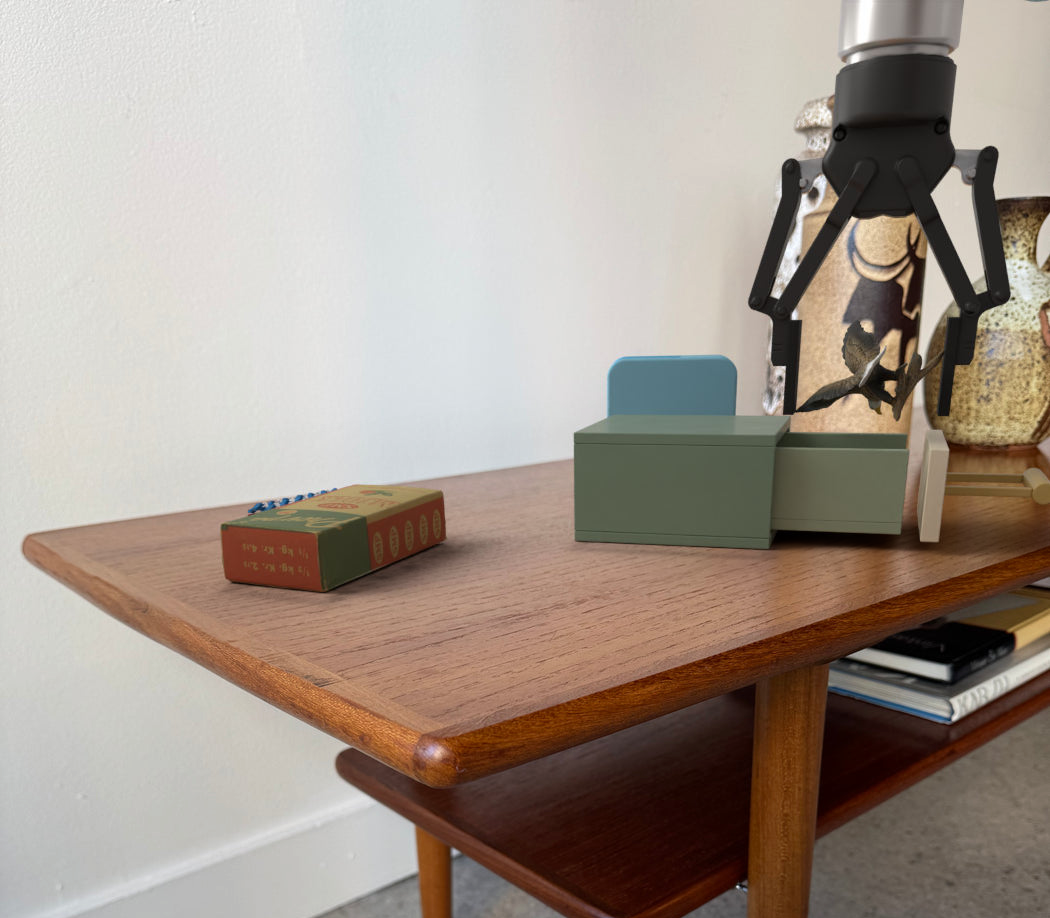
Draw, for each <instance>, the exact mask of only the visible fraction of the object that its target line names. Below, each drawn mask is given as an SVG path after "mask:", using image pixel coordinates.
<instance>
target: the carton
mask: <svg viewBox="0 0 1050 918" xmlns="http://www.w3.org/2000/svg"><path fill="white" fill-rule="evenodd" d="M445 507H446V506H445V495H444V492H443V491H442V490H441V489H434V488H425V487H424V488H423V487H415V486H414V487H413V486H402V485H384V484H383V485H381V484H363V483H362V484H360V483H359V484H358V483H357V484H352V485H347V486H344V487H341V488H337V490H334V491H330V492H327V493H324V494H320V495H317V496H314V497H311V498H307V499H304V500H300V501H297V502H294V503H290V504H287V505H284V506H280V507H277V508H273V509H270V510H266V511H263V512H261V511H259V513H258V512H255V513H256V514H253V513H252V514H253V515H250V516H248V515H247V516H244V517H241V518H240V517H239V518H236V519H232V520H228V521H227V520H226V521H223V522H222V523H220V544H221V562H222V570H223V575H224V578H225V580H227V581H228V582H233V583H242V584H250V585H256V586H257V585H258V586H266V587H273V588H280V589H290V590H291V589H293V590H301V591H311V592H319V593H320V592H321V593H325V592H329V591H330V590H333V589H334V588H336V587H339V586H341V585H343V584H346V583H348V582H350V581H353V580H355V579H357V578H360V577H363V576H365V575H367V574H370V573H372V572H374V571H377V570H380V569H382V568H383V567H386V566H389V565H391V564H393V563H395V562H397V561H400V560H402V559H405V558H407V557H410V556H411V555H414V554H417V553H419V552H421V551H423V550H426V549H429V548H431V547H434V546H436V545H438V544H441V543H442V542H444V541H446V540H448V537H447V526H446V525H447V521H446V512H445V511H446V510H445V509H446V508H445Z"/></svg>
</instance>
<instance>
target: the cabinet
mask: <svg viewBox="0 0 1050 918" xmlns="http://www.w3.org/2000/svg"><path fill="white" fill-rule="evenodd" d="M791 422H792V415H738V414H737V415H612V416H610V417H608V418H607V417H606V418H604V419H602V420H599V421H597V422H594V423H592V424H590V425H588V426H585V427H583V428H581V429H578V430H576V431H575V432H573V522H574V524H573V525H574V527H573V529H574V541H575V542H589V543H590V542H593V543H613V544H614V543H615V544H637V545H660V546H679V547H681V546H682V547H702V548H704V547H705V548H706V547H707V548H724V549H725V548H726V549H727V548H729V549H746V550H747V549H751V550H769V549H770V547H771V546H772V543H773V541H774V539H775V537H776V535H777V533H778V532H779V530H771V523H772V506H773V489H774V473H775V456H776V446H775V445H776V444H777V443H778V441H779V440H780V439H781V437H782V436H783V435H784V433H785V432H791V424H792V423H791Z"/></svg>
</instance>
